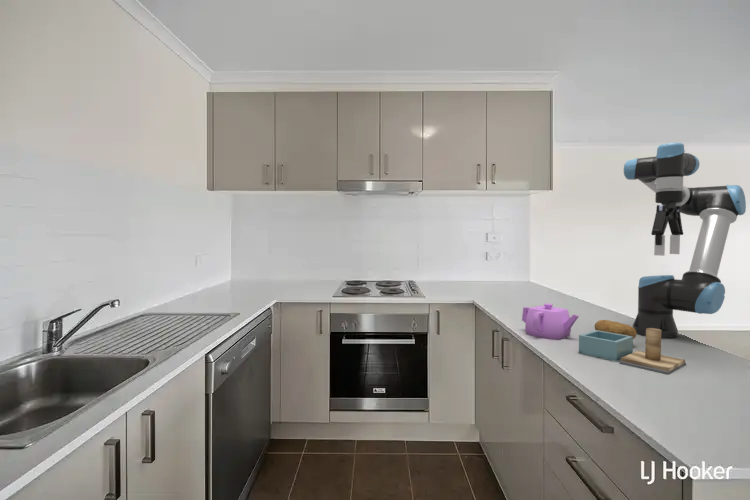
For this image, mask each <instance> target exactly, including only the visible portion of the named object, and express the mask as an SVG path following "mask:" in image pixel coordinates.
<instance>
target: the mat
mask: <svg viewBox="0 0 750 500" xmlns="http://www.w3.org/2000/svg"><path fill="white" fill-rule="evenodd" d="M619 364H620V365H626V366H629V367H633V368H637V367H638V369H643V370H646V369H647V370H646V371H652V372H655V373H659V374H660V373H661V374H664V375H669V374H671V373H674V372H675V371H677V370H679V369H680V368H683V367H684V366H686V365H687V362H686V361H685V363H684V364H682V365H680V366H679V367H677V368H675V369H673V370H671V371H664V370H660V369H655V368H651V367H646V366H642V365H637V364H633V363H628V362H624V361H621V360H619Z"/></svg>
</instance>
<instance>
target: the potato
mask: <svg viewBox="0 0 750 500" xmlns="http://www.w3.org/2000/svg"><path fill="white" fill-rule="evenodd" d="M595 330H598V331H604V332H609V333H615V334H621V335H627V336H632V337H633V340H634V339H635V338H636V337H637V335H638V334H637V332H636V330H635V329H634V328H633V326H631V325H629V324H625V323H621V322H618V321H612V320H608V319H600V320H598V321H596V322H595V323H594V331H595Z"/></svg>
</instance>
